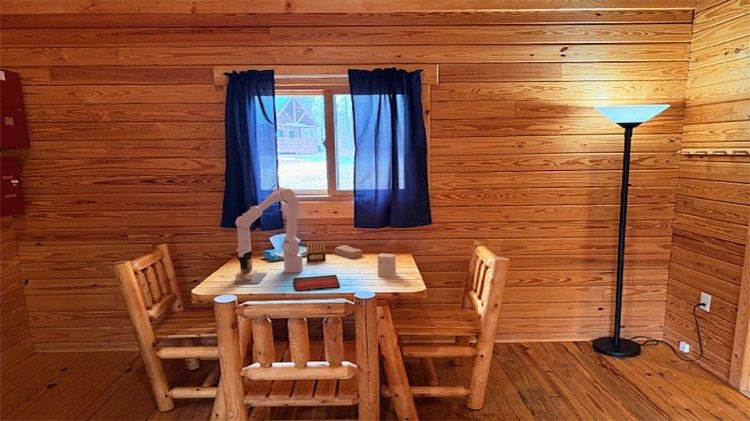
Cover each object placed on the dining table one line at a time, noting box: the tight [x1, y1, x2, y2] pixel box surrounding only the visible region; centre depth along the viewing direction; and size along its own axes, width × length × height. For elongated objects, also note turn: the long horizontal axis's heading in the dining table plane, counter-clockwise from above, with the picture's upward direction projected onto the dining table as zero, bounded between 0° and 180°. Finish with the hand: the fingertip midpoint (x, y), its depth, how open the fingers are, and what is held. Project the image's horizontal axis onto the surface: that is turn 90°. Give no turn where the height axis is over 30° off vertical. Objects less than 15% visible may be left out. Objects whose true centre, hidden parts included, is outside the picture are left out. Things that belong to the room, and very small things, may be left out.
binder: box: [293, 274, 341, 292], centre depth 198 cm, size 16×2×21 cm
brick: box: [334, 245, 363, 260], centre depth 250 cm, size 17×8×5 cm, turn 44°
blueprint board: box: [232, 269, 268, 285], centre depth 207 cm, size 12×16×4 cm
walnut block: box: [239, 258, 253, 272], centre depth 206 cm, size 4×4×5 cm
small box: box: [377, 253, 397, 278], centre depth 210 cm, size 8×6×10 cm
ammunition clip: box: [306, 239, 327, 263], centre depth 238 cm, size 11×2×12 cm, turn 105°
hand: (245, 267), depth 207 cm, fingers closed on walnut block, 4 cm apart
